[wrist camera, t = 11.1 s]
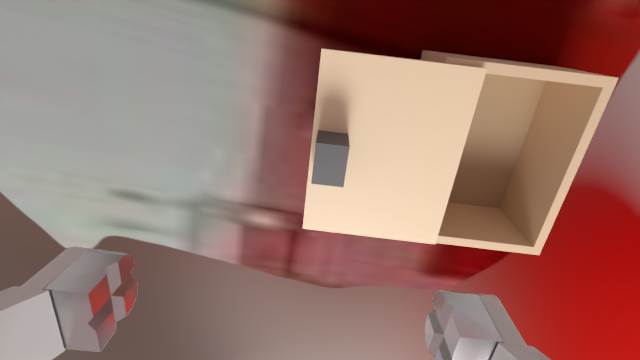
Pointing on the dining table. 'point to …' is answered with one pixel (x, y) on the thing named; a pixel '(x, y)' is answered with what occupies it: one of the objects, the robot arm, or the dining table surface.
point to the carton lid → (387, 144)
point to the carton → (520, 151)
